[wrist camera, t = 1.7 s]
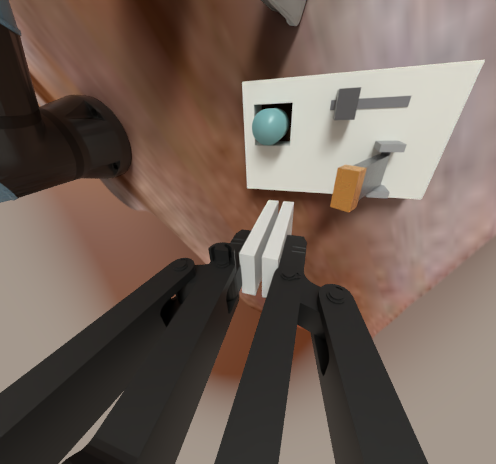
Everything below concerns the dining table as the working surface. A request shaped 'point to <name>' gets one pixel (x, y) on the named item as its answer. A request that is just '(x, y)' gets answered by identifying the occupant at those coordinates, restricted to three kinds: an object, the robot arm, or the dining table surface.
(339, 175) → the lever
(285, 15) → the electrical switch
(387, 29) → the dining table surface
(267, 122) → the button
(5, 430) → the robot arm
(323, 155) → the panel
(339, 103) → the slider
